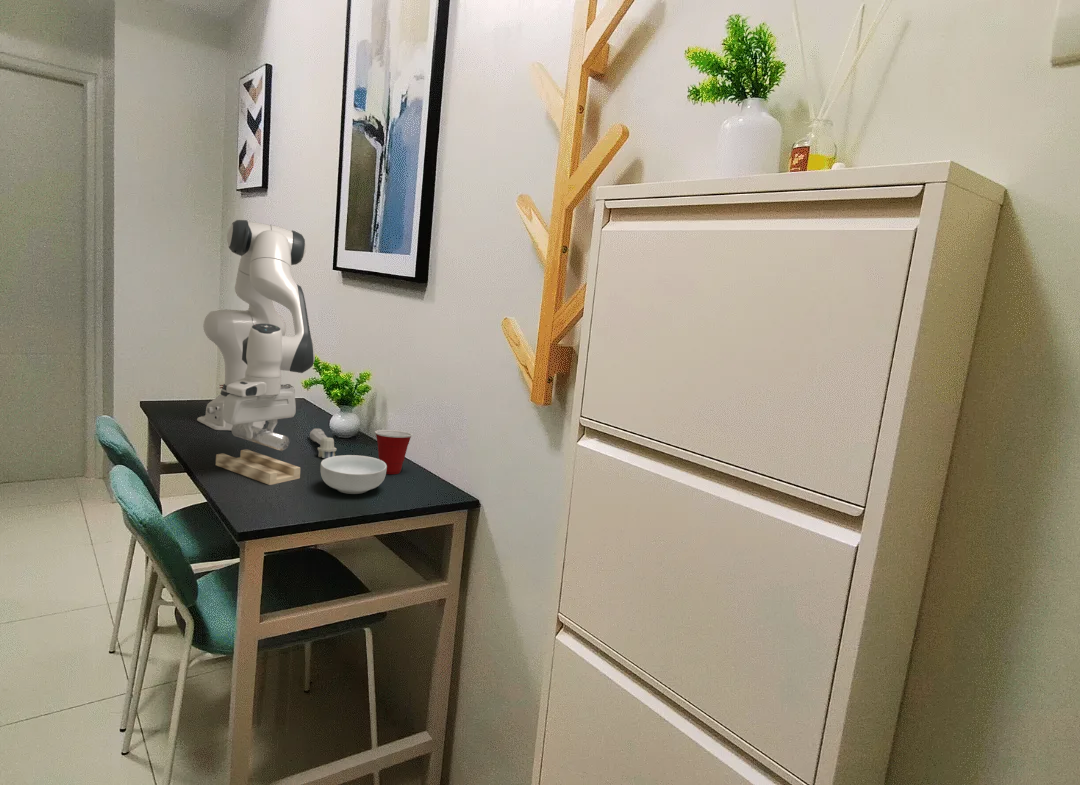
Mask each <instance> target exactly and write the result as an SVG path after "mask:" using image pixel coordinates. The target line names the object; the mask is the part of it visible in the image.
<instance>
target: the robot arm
mask: <svg viewBox="0 0 1080 785" xmlns="http://www.w3.org/2000/svg"><path fill="white" fill-rule="evenodd" d="M226 242H227V245H228V248H229V250H230V251H231V252H232V253H234V254H235V255H238V256H240V260H239V263H238V268H237V272H236V273H237V274H236V278H235V279H236V280H235V285H234V292H235V294H236V296H237V297H238V298H239V299H240V300H242V301H243V302H245V303H247V304H248V309H247V310H243V309H242V310H241V309H217V310H211V311H209V312H208V314H206V316H205V317H204V320H203V326H202V327H203V332H204V334H205V336H206V337H207V338H208V340H210V341H211V342H213V344H215V346H217V348H218V349H219V350H220V352H221V355H222V357H223V361H224V383H223V384H219V389H221V390H220V392H219V393H220V394H219V395H218V396H216V397H215V398H214V399H212V400H210V401H209V402H208V403H207V404H206V407H205V415H201V416H199V417H197V419H196V421H198V422H199V423H201V424H203V425H205V426H207V427H209V428H211V429H212V430H215V431H232V427H233V425H236V424H243V426H244V428H245V430H246V431H247V438H249V439H252V438H255V437H256V436H255V435H256V432H254V431H253V430H252V428H251V426H255V427H258V428H261V429H264V430H268V431H271V432H274V430H275V428H276V426H277V424H278V420H284V419H288V418H289V419H290V418H294V416H295V415H296V412H297V411H296V409H297V408H296V407H297V404H296V397H295V396H296V394H295V393H296V389H295V388H294V386H293V385H291V384H290V383H285V384H282V372H281V371H288V372H291V373H298V374H299V373H300V374H303V373H305V372H307V371H308V370H310V369H311V368H312V367H314V363H315V360H316V351H315V346H314V344H313V340H312V336H311V334H312V333H311V329H310V324H309V316H308V310H307V304H306V299H305V294H304V291H303V288H302V286H301V285H299V284H298V283H296V281H295V279H294V278H293V276H292V266H293V265H294V266H295V265H298V264H300V263H301V262H302V260H303V258H304V256H305V254H306V250H307V249H306V248H307V245H306V239H305V238H304V236H303V234H302V233H301V232H297V231H295V230H290V229H288V228H284V227H281V226H278V225H273V224H266V223H262V222H256V221H255V222H254V221H248V220H246V219H236V220H235V221H233V222H232V223H231V225H230V226H229V228H228V231H227V233H226ZM273 302H275V303H278V304H280V305H281V306H283V307H285V308H286V309H288V311H290V313H291V316H292V322H293V323H292V324H293V329H294V330H293V331H294V334H295V335H292V336H291V335H290V336H289V335H286V332H287V326H286V322H285V320H284V319H283V317H282V316H281V315H280V314H279V313H278V312H277V310H276V309H275V307H274V304H273ZM266 421H267V422H268V424H267V427H266V428H265V426H264V425H266Z"/></svg>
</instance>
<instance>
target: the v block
mask: <svg viewBox="0 0 1080 785" xmlns="http://www.w3.org/2000/svg"><path fill="white" fill-rule="evenodd" d="M215 466H217V467H219V468H223V469H225V470H227V471H231V472H233V473H236V474H239V475H241V476H244V477H247V478H249V479H252V480H255V481H258V482H260V483H262V484H266V485H269V486H272V485H277V484H280V483H286V482H289V481H290V482H291V481H293V480H298V479H300V478H301V467H300V466H297V465H294V464H292V463H289V462H286V461H282V460H280V459H276V458H274V457H271V456H268V455H265V454H262V453H259V452H256V451H254V450H253V451H252V450H250V449H240V455H239V457H235V456H231V455H229V454H226V453H223V452H222V453H218V454H217V453H216V454H215Z"/></svg>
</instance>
